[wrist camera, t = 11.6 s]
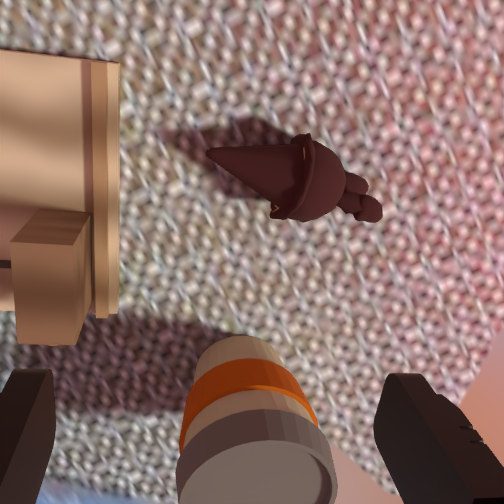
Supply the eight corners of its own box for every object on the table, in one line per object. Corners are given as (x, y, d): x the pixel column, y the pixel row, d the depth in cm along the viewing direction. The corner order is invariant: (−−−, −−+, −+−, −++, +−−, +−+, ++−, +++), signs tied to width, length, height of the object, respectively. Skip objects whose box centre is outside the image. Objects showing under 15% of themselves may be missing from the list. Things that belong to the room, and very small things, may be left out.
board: (-87, 39, 33) (-105, 39, 31) (120, 63, 35) (116, 64, 33) (-46, 299, 41) (-58, 313, 39) (119, 305, 44) (115, 318, 42)
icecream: (192, 218, 34) (364, 260, 39) (226, 128, 30) (414, 188, 35) (190, 170, 40) (342, 212, 45) (219, 88, 36) (383, 145, 40)
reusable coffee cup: (264, 298, 45) (299, 409, 32) (316, 384, 51) (365, 510, 37) (152, 357, 47) (140, 488, 33) (215, 435, 52) (227, 575, 38)
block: (38, 209, 37) (9, 241, 31) (91, 212, 38) (72, 245, 32) (44, 307, 41) (18, 355, 34) (92, 309, 42) (75, 356, 35)
